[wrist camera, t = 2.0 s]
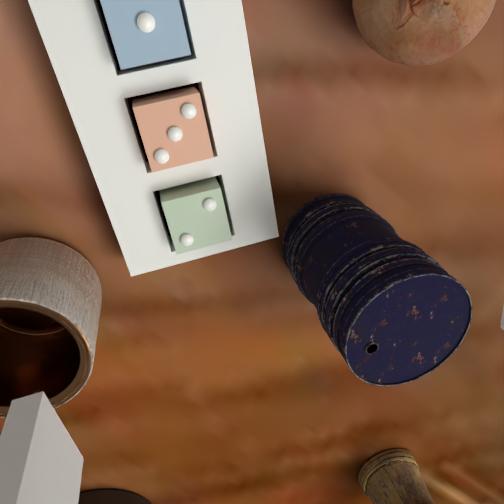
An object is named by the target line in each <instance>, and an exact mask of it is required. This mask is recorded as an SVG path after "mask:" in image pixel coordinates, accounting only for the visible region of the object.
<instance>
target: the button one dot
mask: <svg viewBox="0 0 504 504" xmlns="http://www.w3.org/2000/svg"><path fill="white" fill-rule="evenodd" d="M100 2H101V5H102V8H103V12H104V15H105V18H106V22H107V25H108V28H109V32H110V35H111V38H112V42H113V45H114V48H115V52H116V55H117V58H118V61H119V65H120V68H121V70H122V69H127V68H131V67H136V66H141V65H145V64H150V63H155V62H159V61H164V60H169V59H174V58H178V57H183V56H188V55H191V52H190V48H189V43H188V39H187V34H186V30H185V25H184V21H183V16H182V12H181V7H180V3H179V0H100Z"/></svg>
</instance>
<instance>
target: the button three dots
mask: <svg viewBox="0 0 504 504" xmlns="http://www.w3.org/2000/svg"><path fill="white" fill-rule="evenodd" d="M132 108H133V111H134V114H135V118H136V121H137V124H138V128H139V131H140V134H141V138H142V141H143V144H144V148H145V151H146V154H147V157H148V161H149V164H150V167H151V171H152V172H156V171H160V170H164V169H168V168H173V167H177V166H181V165H185V164H189V163H193V162H197V161H201V160H205V159H210V158H214V156H213V151H212V147H211V142H210V138H209V133H208V129H207V124H206V120H205V115H204V111H203V106H202V102H201V97H200V93H199V91H198V90H197V89H196V88H195V87H194V86H193V87H188V88H184V89H179V90H175V91H170V92H166V93H161V94H156V95H152V96H147V97H143V98H138V99H134V100H133V105H132Z"/></svg>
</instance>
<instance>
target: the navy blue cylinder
mask: <svg viewBox="0 0 504 504" xmlns="http://www.w3.org/2000/svg"><path fill="white" fill-rule="evenodd" d="M281 246H282V255H283V259H284V261H285V263H286V265H287V267H288V268H289V270H290V272H291V275H292V277H293V279H294V280H295V282H296V284H297V285H298V288H299V290H300V291H301V293H302V294H303V295H304V296H305V297H306V298H307V299H308V300H309V301H310V302H311V303H312V304H314V305H315V307H316V308H317V313H318V316H319V320H320V322H321V325H322V327H323V328H324V330H325V332H326V333H327V334H328V336H329V338H330V339H331V341H332V343H333V344H334V346H335V347H336V349H337V350H338V351H339V352H340V353H341V354H342V356H343V357H344V359H345V361H346V362H347V364H348V366H349V367H350V369H351V370H352V372H353V373H354V374H355V375H356V376H357V377H358V378H359V379H361V380H363V381H364V382H367V383H370V384H373V385H378V386H393V385H400V384H404V383H408V382H411V381H413V380H416V379H418V378H420V377H423V376H425V375H426V374H428V373H430V372H431V371H433V370H434V369H436V368H437V367H439V366H440V365H441V364H442V363H444V362H445V361H446V360H447V359H448V358H449V357H450V356H451V355H452V354H453V353H454V352H455V350H456V349H457V348H458V346H459V345H460V344H461V342H462V341H463V339H464V337H465V335H466V333H467V331H468V328H469V326H470V322H471V318H472V302H471V299H470V296H469V293H468V292H467V290H466V289H465V287H464V286H463V285H462V284H461V283H460V282H458V281H457V280H456V279H455V278H453V277H452V276H450V275H449V274H448V273H447V272H446V271H445V270H444V269H443V267H442V266H441V265H440V264H439V263H438V262H436V261H435V260H434V259H433V258H431V257H430V256H429V255H427V254H426V253H425V252H424V251H423V250H422V249H421V248H419V247H417V246H416V245H414V244H411V243H410V242H407V241H405V240H402V239H401V238H400V237H399V236H398V234H397V233H396V231H395V230H394V228H393V227H392V226H391V225H390V224H389V223H388V222H387V221H386V220H384V219H383V218H382V217H381V216H380V215H379V214H377V213H376V212H375V211H374V210H372V209H370V208H369V207H367V206H365V205H364V204H363V203H362V202H361V201H359V200H357V199H356V198H354V197H352V196H349V195H345V194H328V195H324V196H320V197H317V198H315V199H313V200H311V201H309V202H308V203H306V204H305V205H303V206H302V207H301V208H300V209H299V210H298V211H297V212H296V213H295V214H294V215H293V216H292V218H291V219H290V221H289V222H288V224H287V226H286V228H285V230H284V233H283V237H282V243H281Z"/></svg>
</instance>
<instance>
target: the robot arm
mask: <svg viewBox="0 0 504 504" xmlns="http://www.w3.org/2000/svg"><path fill="white" fill-rule="evenodd" d="M500 327H501V328H502V329H503V330H504V306H503V313H502V319H501V325H500ZM82 467H83V456H82V455H81V453H80V452H79V450H78V448H77V447H76V445H75V443H74V442H73V440H72V438H71V437H70V435H69V433H68V432H67V430H66V428H65V427H64V425H63V423H62V422H61V420H60V418H59V417H58V415H57V413H56V412H55V410H54V408H53V407H52V405H51V403H50V402H49V400H48V398H47V397H46V395H45V393H44V392H43V391H42V392H39V393H35V394H32V395H28V396H25V397H22V398H18V399H15V400H12V402H11V405H10V408H9V411H8V414H7V417H6V421H5V424H4V427H3V430H2V433H1V436H0V504H151V503H150V502H149V501H148V500H146V499H145V498H143V497H141V496H139V495H137V494H134V493H131V492H127V491H121V490H95V491H88V492H84V493H80V485H81V476H82ZM79 493H80V494H79Z"/></svg>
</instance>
